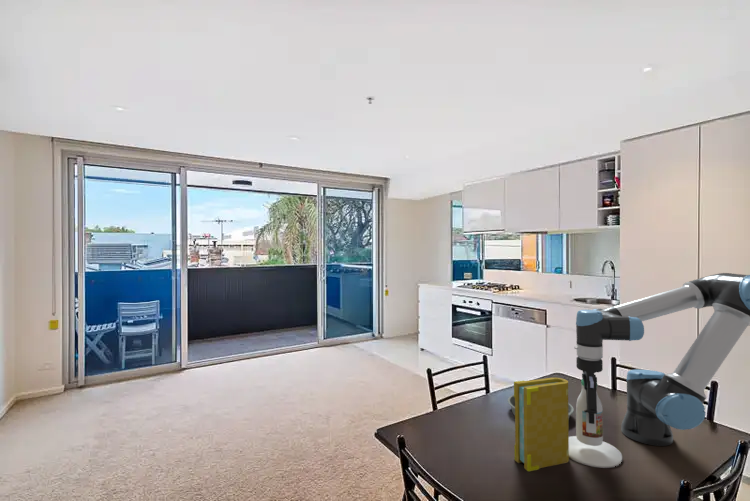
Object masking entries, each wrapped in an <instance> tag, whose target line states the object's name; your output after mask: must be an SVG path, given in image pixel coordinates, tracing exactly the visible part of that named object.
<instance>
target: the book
mask: <svg viewBox="0 0 750 501" xmlns="http://www.w3.org/2000/svg"><path fill="white" fill-rule="evenodd" d="M513 395H514V397H515V415H514V436H515V440H514V442H515V443H514V446H513V447H514V461H515V462H516V463H518V464H521V463H523V464H524V465H523V468H524V469H525V470H526V471H527V472H533V471H537V470H540V469H541V468H542V469H543V468H546V467H552V466H557V465H561V464H566V463H567V464H568V463H569V461H570V458H569V437H570V436H569V434H570V433H569V428H570V427H569V424H570V423H569V420H568V403H569V381H568V380H567V379H565V378H562V377H546V378H539V379H529V380H517V381H513Z"/></svg>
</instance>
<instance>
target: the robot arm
mask: <svg viewBox="0 0 750 501" xmlns="http://www.w3.org/2000/svg"><path fill="white" fill-rule="evenodd" d="M708 307H713V310H714V312H713V313H712V314H711V316H710V317H709V319H708V321H707V322H706V324H705V325H704V327H702V330H701V331H700V332H699V333H698V335H697V336H696V338H695V340H694V341H693V343H692V344H691V345H690V347H689V349H688V350H687V352H686V353H685V354H684V356H683V358H682V359H681V361H680V362H679V363H678V364H677V366H676V368H675V369H674V371H673V372H671V373H665V372H662V371H658V370H651V369H641V368H640V369H638V368H637V369H631V370H628V371H627V373H626V379H625V380H626V411H625V414H624V417H623V419H622V422H621V425H620V426H621V432H622V434H623V435H624V436H626V437H627V438H629V439H631V440H633V441H636V442H638V443H642V444H646V445H648V446H656V447H657V446H659V447H666V446H670V445H672V444H673V443H674V434H673V431H672V429H671V427H672V428H673V429H676V430H680V431H685V430H693V429H695V428H696V427H699V426H700V425H701V424H702V423H703V422H704V420H705V417H706V411H705V409H706V408H705V406H704V402H705V400H707V396H706V393H705V390H706V387H707V386H708V385H709V383H710V382H711V381H712V379H713V377H714V376H715V374H716V373H717V372H718V370H719V369H720V367H721V366H722V364H723V363H724V361H725V360H726V359H727V357H728V355H729V354H730V353H731V351H732V350H733V348H734V347H735V345H736V344H737V342H738V341H739V340H740V338H741V336H742V335H743V333H744V332H745V331H746V329H747V328H748V327H749V326H750V274H739V273H730V272H718V273H714V274H710V275H707V276H704V277H700V278H697V279H694V280H690V281H687V282H683V284H682V286H680V287H676V288H673V289H670V290H666V291H663V292H659V293H656V294H652V295H650V296H646V297H643V298H638V299H636V300H632V301H629V302H626V303H622V304H619V305H614V306H611V307H607V308H604V309H602V308H593V309H579V310H578V311H577V313H576V318H575V319H576V320H575V325H576V328H575V329H576V346H574V350H576V356H577V357H576V360H575V361H576V368H577V369H578V370H580V371H582V373H581V378H582V379H583V381H584V389H585V390H586V400H587V410H584V412H586V432H588V433H595V434H596V414H597V395H596V391H597V389H598V377H597V376H596V374H595V373H601V372H602V371H603V365H604V364H603V357H604V356H603V355H604V352H603V351H604V348H603V347H604V344H603V343H604V342H603V341H628V342H632V341H640V340H641V339H643V337H644V335H645V326H644V324H643V322H646V321H649V320H652V319H656V318H659V317H662V316H667V315H670V314H673V313H678V312H680V311H685V310H689V309H692V308H694V309H698V310H699V309H704V308H708ZM582 379H581V380H582ZM596 382H597V383H596ZM586 385H587V387H586ZM596 385H597V387H596Z"/></svg>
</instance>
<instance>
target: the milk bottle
mask: <svg viewBox="0 0 750 501" xmlns="http://www.w3.org/2000/svg"><path fill="white" fill-rule="evenodd" d="M596 383H597V385H596V387H597V388H598V381H597V382H596ZM580 384H581V390H580V391H581V392H580V393H579V395H578V396H577V399H576V404H575V406H576V409H575V430H576V432H575V436H576V437H577V439H578V441H580V442H581V443H584V444H587V445H591V446H599V445H601V444H602V443H603V440H604V413H603V411H604V410H603V403H602V401H601V399H600V398H599V395H598V392H597V390H596V395H597V414H596V434H595V433H588V432H586V412H584V410H587V400H586V390H585V389H584V381H583V379H581V381H580ZM586 387H587V385H586Z"/></svg>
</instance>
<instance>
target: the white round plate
mask: <svg viewBox="0 0 750 501" xmlns="http://www.w3.org/2000/svg"><path fill="white" fill-rule="evenodd" d="M569 460H572V461H574V462H577V463H579V464H581V465H586V466H589V467H592V468H600V469H601V468H602V469H610V468H616V467H619V466H620V465H622V463H623V454H622V452H621V451H620V450H619V449H618V448H617V447H615V446H614V445H612V444H611V443H609V442H605V441H603V443H602V444H601V445H599V446H591V445H587V444H584V443H581V442H580V441H578V439H577V437H576V435H572V436H571V435H570V436H569ZM621 462H622V463H621ZM619 464H620V465H619ZM615 466H616V467H615Z"/></svg>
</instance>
